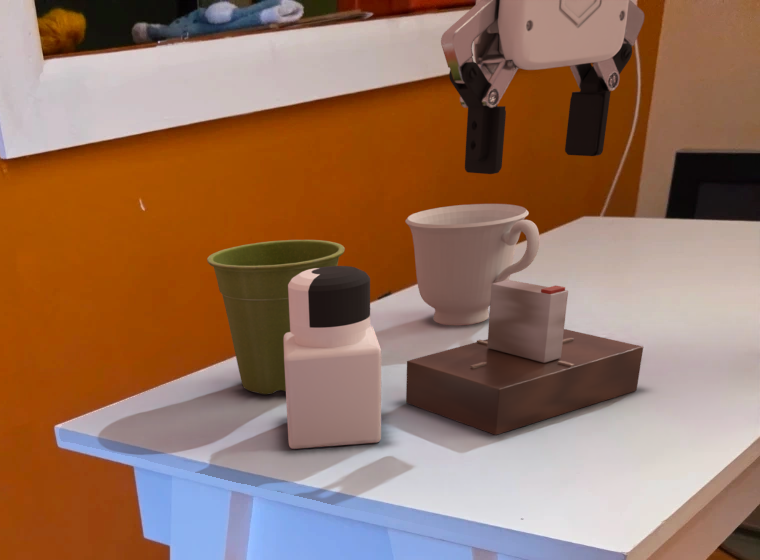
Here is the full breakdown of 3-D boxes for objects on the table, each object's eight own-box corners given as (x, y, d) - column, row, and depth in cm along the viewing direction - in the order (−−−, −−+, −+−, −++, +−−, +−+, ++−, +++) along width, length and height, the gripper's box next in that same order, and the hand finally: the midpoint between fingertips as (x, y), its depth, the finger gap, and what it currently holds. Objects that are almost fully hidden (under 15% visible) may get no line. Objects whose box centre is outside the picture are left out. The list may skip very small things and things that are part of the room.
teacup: (487, 344, 93) (495, 230, 87) (380, 323, 103) (380, 220, 97) (567, 317, 98) (579, 208, 92) (457, 300, 108) (462, 201, 103)
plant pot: (320, 407, 82) (316, 265, 76) (197, 401, 87) (183, 267, 80) (363, 367, 90) (363, 236, 84) (249, 363, 95) (240, 239, 89)
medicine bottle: (373, 413, 79) (373, 256, 72) (381, 443, 74) (382, 276, 67) (287, 420, 80) (279, 265, 73) (289, 450, 74) (280, 285, 67)
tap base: (539, 364, 86) (543, 321, 84) (637, 390, 78) (644, 344, 76) (405, 403, 81) (406, 358, 79) (495, 435, 73) (499, 386, 71)
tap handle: (486, 348, 80) (491, 280, 76) (503, 343, 80) (508, 276, 77) (543, 363, 75) (551, 291, 72) (561, 358, 75) (568, 287, 72)
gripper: (498, -159, 54) (476, 183, 64) (710, -163, 60) (659, 150, 70) (415, -135, 60) (407, 177, 70) (616, -141, 66) (582, 147, 76)
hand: (533, 163), depth 70 cm, fingers open, 9 cm apart
